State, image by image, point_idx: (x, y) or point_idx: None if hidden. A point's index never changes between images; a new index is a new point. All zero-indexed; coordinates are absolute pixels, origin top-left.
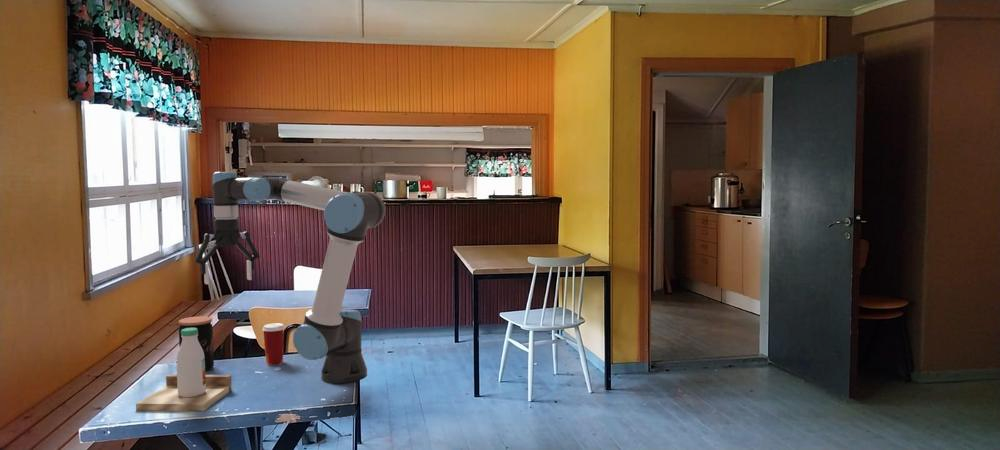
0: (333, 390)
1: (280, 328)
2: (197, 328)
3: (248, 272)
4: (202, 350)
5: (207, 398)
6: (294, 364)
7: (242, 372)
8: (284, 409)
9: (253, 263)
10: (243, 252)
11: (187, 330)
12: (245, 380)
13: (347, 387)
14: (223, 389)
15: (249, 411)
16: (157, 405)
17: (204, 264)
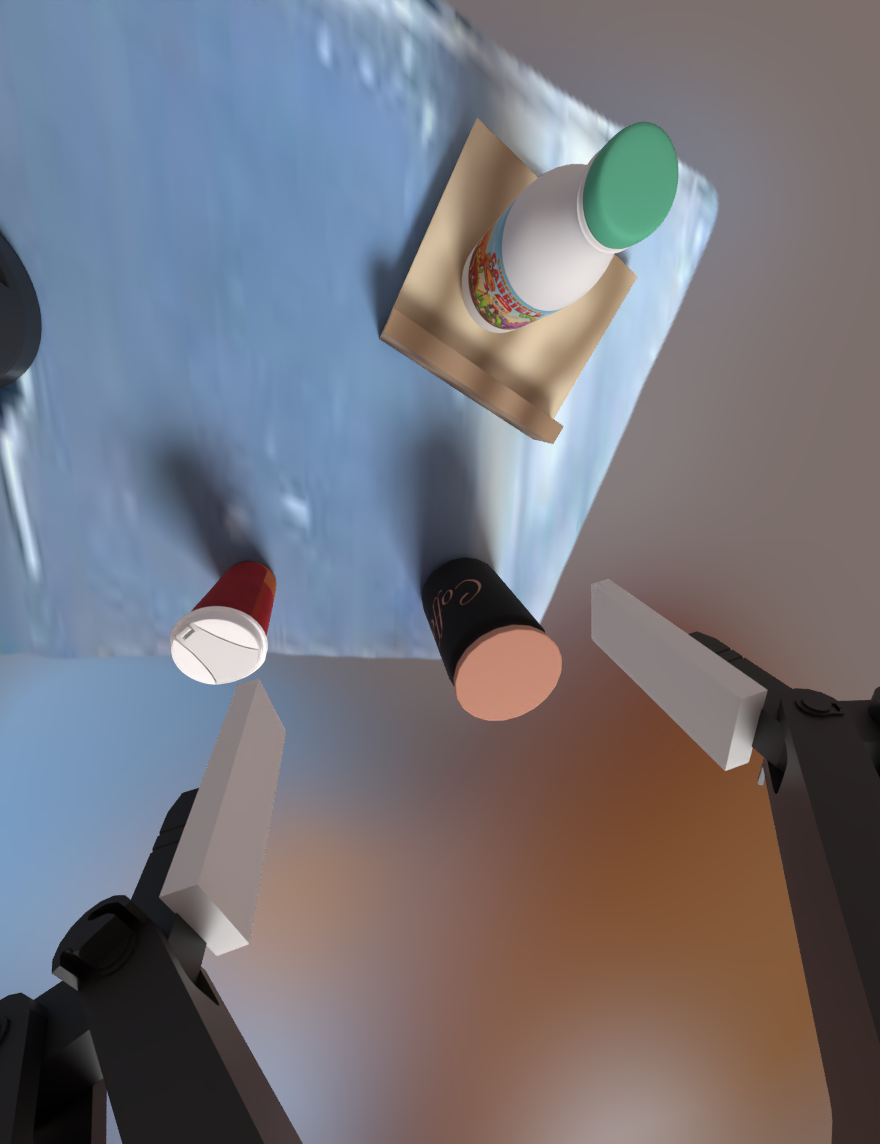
0: None
1: (185, 621)
2: (501, 620)
3: (252, 751)
4: (524, 214)
5: (459, 191)
6: (181, 546)
7: (346, 522)
8: None
9: (148, 877)
10: (251, 1099)
11: (657, 142)
12: (337, 433)
13: None
14: (407, 280)
15: None
16: None
17: (772, 704)
